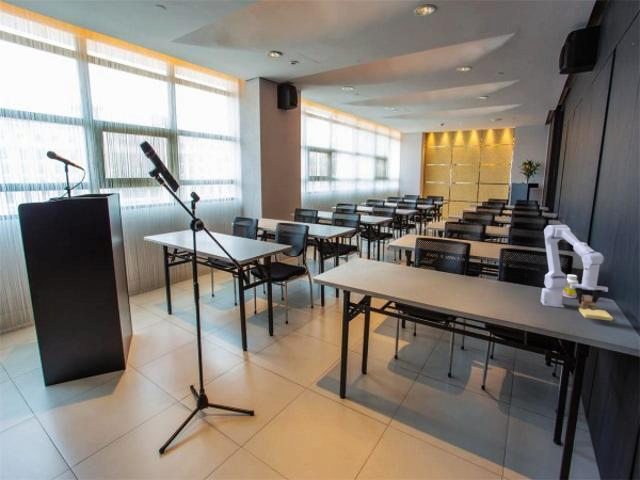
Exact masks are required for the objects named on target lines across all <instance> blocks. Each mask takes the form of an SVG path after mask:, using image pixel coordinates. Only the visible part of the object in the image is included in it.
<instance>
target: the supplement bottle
mask: <svg viewBox="0 0 640 480" xmlns="http://www.w3.org/2000/svg"><path fill="white" fill-rule="evenodd" d="M566 278H567V280H568V286H567V287H566V288H565V290H563V297H565V298H568V299H570V298H571V299H576V298H578V297H577V294H576V291H575V289H571V288H570V284H579V280H578V275H576V274H570V273H569V274H566Z"/></svg>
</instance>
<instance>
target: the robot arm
mask: <svg viewBox="0 0 640 480" xmlns="http://www.w3.org/2000/svg"><path fill="white" fill-rule="evenodd" d="M543 233H544V243H545V251H546V259H547V266H548V267H547V268H548V272H547V273H546V274H545V275H544V282H543V284H544V286H545V287H543V288H542V289H541V296H540V302H541V303H542V305H543V306H545V307H555V308H565V306H564V304H562V303H563V297H564V296H563V290H565V288H566V287H567V286H568V280H567V274H566V273H564V272H563V271H562V268H561V261H560V255H559V253H560V252H559V247H558V243H559V242H560V240H562V239H564V240H565V242H567V243H569V244H570V245H572V246H573V248H572V249H573V251H574V252H575V253H576V254H577V255H578V256H579V257H580V258H581V261H582V267H583V272H582V278H581V279H582V280H581V283H578V284H570V288H571V289H575V291H576V294H577V297H576V298H577V302H578V303H579V304H581V301H582V296H583V295H584V291H583V290H585V291H586V290H587V291H592V301H593V302H594V303H596V304H597V302H598V300H599V299H600V297H601V296H603V293H604V292H607V293H608V291H609V287H608V286H601V285H597V284H598V278H599V272H600V266H601V265H603V263H604V260H605V257H604V256H603V254H602V253H601V252H597V251H595V250H594V249H592V247H590V246H589V245H588V243H587V242H582V241H580V240H579V239H578V238H577V237H576V236H575V235H574V233H572V231H571V228H570V227H569V226H568V225H567V224H557V225H556V224H554V225H552V224H549V225H546V227H545V228H544V230H543ZM578 303H577V304H578Z"/></svg>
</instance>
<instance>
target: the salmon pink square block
mask: <svg viewBox="0 0 640 480" xmlns="http://www.w3.org/2000/svg"><path fill="white" fill-rule="evenodd" d="M592 299H593V296H591V295H586V294H585V295H584V294H583V295H582V300H583V301H586V302H592Z"/></svg>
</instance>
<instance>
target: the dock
mask: <svg viewBox="0 0 640 480" xmlns="http://www.w3.org/2000/svg"><path fill="white" fill-rule="evenodd" d="M578 311H579V312H580V313H581V315H582V316H583V317H584V318H585V319H593V320H604V321H610V322H612V321H613V320H614V317H612V316H611V315H610V313H608V311H606V310H605V309H603V310H602V309H595V310H591V309H590V308H587V309H582V308H581V307H578Z"/></svg>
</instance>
